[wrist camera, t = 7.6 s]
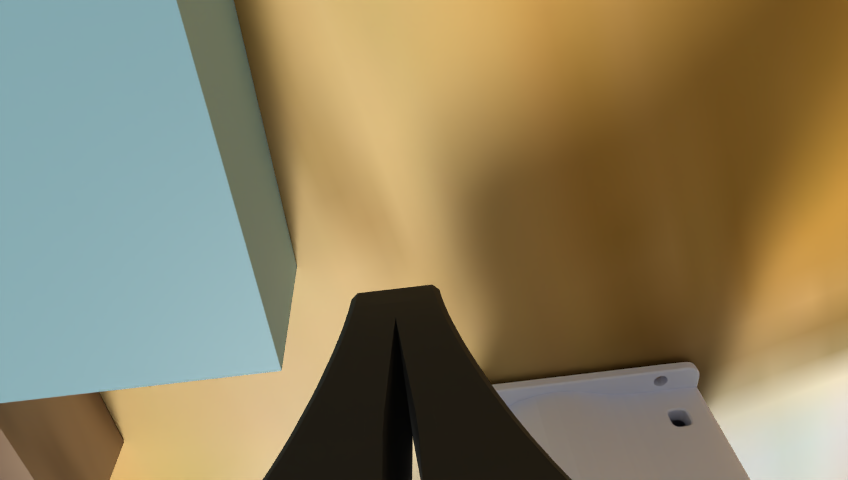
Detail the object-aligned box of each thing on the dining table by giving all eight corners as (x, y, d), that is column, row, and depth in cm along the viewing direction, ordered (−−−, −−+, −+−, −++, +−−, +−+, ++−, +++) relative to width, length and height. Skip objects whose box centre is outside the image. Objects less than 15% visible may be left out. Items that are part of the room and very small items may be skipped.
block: (219, -69, 16) (169, -26, 12) (297, 262, 22) (281, 370, 17) (-109, -35, 16) (-276, 21, 12) (53, 289, 22) (-22, 405, 17)
